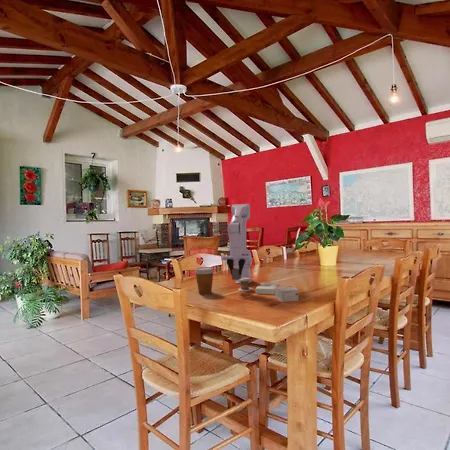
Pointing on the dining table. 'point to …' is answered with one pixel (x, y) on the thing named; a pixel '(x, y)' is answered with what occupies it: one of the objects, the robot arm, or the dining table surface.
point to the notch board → (267, 288)
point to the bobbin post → (245, 285)
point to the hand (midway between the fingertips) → (236, 274)
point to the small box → (286, 293)
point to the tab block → (235, 274)
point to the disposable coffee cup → (204, 279)
